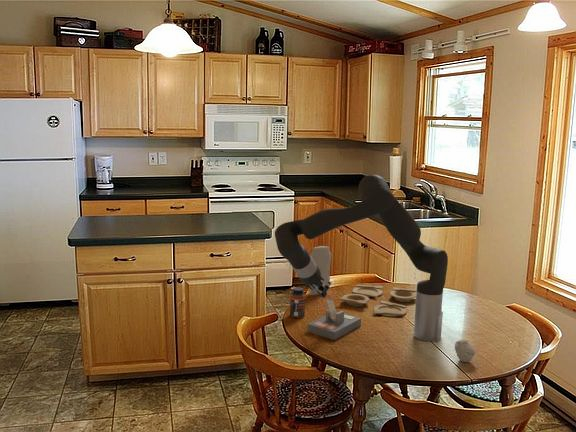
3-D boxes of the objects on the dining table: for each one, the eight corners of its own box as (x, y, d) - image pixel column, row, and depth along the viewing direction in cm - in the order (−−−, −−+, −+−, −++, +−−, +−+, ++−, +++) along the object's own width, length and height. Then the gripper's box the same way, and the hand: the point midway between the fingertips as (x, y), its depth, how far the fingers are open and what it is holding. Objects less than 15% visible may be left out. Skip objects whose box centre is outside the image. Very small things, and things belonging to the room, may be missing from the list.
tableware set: (359, 286, 262) (359, 278, 261) (421, 296, 249) (422, 287, 248) (332, 309, 231) (332, 299, 230) (401, 321, 218) (402, 311, 217)
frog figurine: (462, 355, 188) (464, 335, 186) (478, 363, 182) (480, 343, 180) (449, 358, 185) (450, 338, 184) (465, 367, 179) (466, 346, 177)
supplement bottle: (298, 319, 216) (299, 292, 214) (286, 316, 220) (287, 288, 218) (307, 315, 221) (308, 288, 219) (295, 312, 225) (296, 285, 223)
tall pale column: (328, 291, 252) (329, 244, 248) (332, 293, 249) (333, 246, 245) (306, 293, 248) (308, 245, 244) (310, 296, 245) (312, 247, 241)
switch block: (360, 325, 212) (361, 308, 210) (334, 340, 198) (335, 321, 196) (334, 318, 219) (335, 301, 218) (307, 331, 205) (307, 313, 204)
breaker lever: (341, 318, 208) (333, 291, 200) (338, 323, 206) (329, 295, 199) (332, 316, 210) (324, 288, 203) (329, 320, 209) (320, 293, 201)
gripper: (285, 273, 191) (304, 299, 203) (317, 281, 183) (334, 308, 195) (295, 255, 194) (313, 282, 206) (327, 263, 186) (343, 290, 198)
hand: (323, 295), depth 200 cm, fingers closed
